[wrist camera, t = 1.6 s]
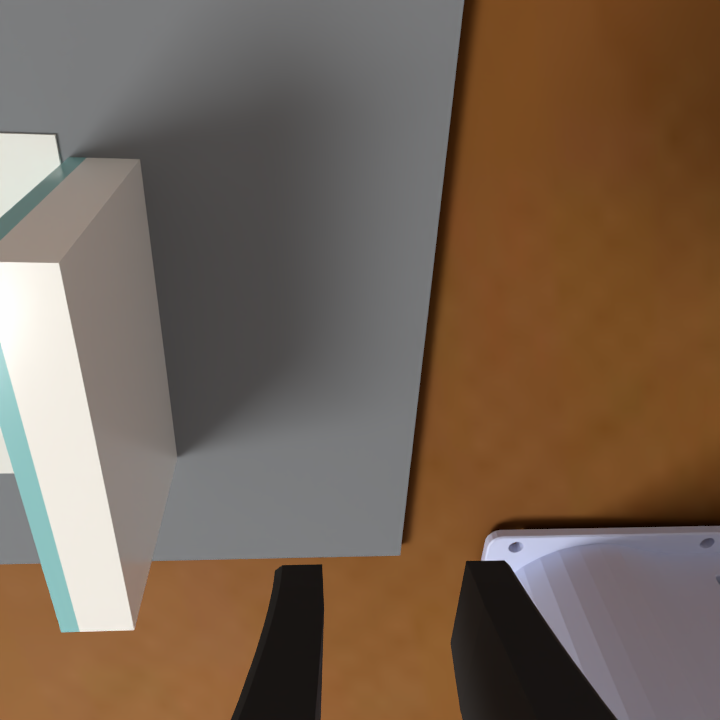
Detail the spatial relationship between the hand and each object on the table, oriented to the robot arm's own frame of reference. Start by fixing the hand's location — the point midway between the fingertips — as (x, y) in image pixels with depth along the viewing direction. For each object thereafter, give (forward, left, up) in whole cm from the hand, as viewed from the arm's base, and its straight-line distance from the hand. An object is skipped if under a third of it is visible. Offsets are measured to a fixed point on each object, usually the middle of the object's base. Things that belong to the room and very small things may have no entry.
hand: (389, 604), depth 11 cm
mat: (+6, 0, -9) cm, 11 cm away
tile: (+6, 0, -9) cm, 11 cm away
